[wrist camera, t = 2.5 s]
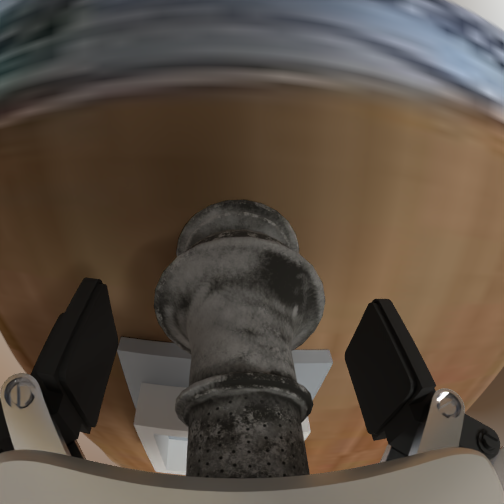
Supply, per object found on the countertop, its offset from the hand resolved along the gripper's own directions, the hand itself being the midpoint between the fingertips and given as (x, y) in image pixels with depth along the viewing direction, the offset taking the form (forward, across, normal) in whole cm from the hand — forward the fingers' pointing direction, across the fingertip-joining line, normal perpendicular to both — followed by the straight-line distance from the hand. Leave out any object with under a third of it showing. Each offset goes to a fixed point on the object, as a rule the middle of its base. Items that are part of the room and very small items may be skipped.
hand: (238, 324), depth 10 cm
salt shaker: (+4, 0, 0) cm, 4 cm away
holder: (+4, 0, +14) cm, 14 cm away
